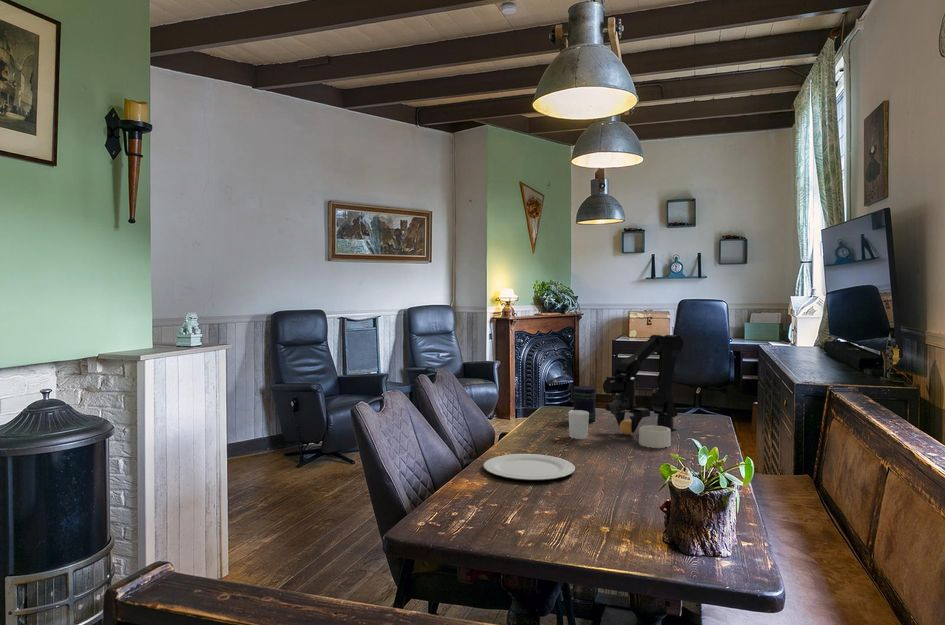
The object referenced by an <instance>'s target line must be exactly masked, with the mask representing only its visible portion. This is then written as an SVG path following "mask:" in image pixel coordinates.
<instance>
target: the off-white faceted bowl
mask: <svg viewBox="0 0 945 625" xmlns="http://www.w3.org/2000/svg"><path fill="white" fill-rule="evenodd" d="M638 431H639V432H638V444H639V446H641V447H645V446H646V448H650V447H651V448H653V449H666V448H665V447H667V448H670V447H671V438H672V437H671V434H672V431H671V429H669V428H667V427H663V426H657V425H654V424H653V425H652V424H651V425H650V424H649V425H641V426H639V428H638ZM669 446H670V447H669Z"/></svg>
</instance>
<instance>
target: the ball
mask: <svg viewBox="0 0 945 625" xmlns="http://www.w3.org/2000/svg"><path fill="white" fill-rule="evenodd" d="M619 428H620V429H619ZM618 429H619V431H620V432H621V433H622V434H624V435H627V436H628V435H632V434H633V433H632V423H631V419H624V420H623V421H622V422H621V423H620V426H618Z"/></svg>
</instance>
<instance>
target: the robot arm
mask: <svg viewBox="0 0 945 625" xmlns="http://www.w3.org/2000/svg"><path fill="white" fill-rule="evenodd" d="M683 346H684V339H683V338H682V337H681V336H680V335H677V334H676V335H674V334H672V335H671V334H666V335H664V336H663V335H661V334H652V335H650V337H649V339H647V340H646V341H645V342H644V343H643V344H642V345H641V346H640V347H639V348H638V349H637V350H636V351H635V352H634V353H633V354H631V355H630V356H628V357H625V358H624V359H622V360H621V361H620V362H619V363H618V365H617V368H616V369H615V371H614V373H613V374H612V376H606V379H605V380H604V382H603V384H602V389H603V392H604V394H606V395H614V394H617V399H614V400H612V401H611V402H607V403H606V405H605V411H607V412H610V414H612V415H613V416H614V417H615V421H616V423H617V425H618V429H619V430H620V428H619V426H620V423H621V422H622V421H623V420H625V417H626V413H629V414H632V415H629V419H630V420H631V423H632V433H631V434H635V432H636V430H637V429H638V426H639V424H640V422H641V421H642V419H644V418H647V417H650V416H651V410H650V409H649V408H645V407H638V406H637V405H636V398H638V395H637V394H636V382H639V381H640V380H641V379H640V378H639V377H638V376H637V374H638V373H639V372H640V370H641V368H642V364H643V363H644V362H645V361H646V360H647V359H648V358H649V357H650V356H651V355H652V354H654V352H655V351H656V350H657V349H658V348H659V347H661V351H662V354H663V359H662V365H661V370H660V371H661V372H660V376H659V383H658V388H657V391H656V392H652V394H651V400H650V403H651V407H652V409H653V414H654V415H657V421H656V423H657V424H656V426H663V427H667V428H669V429H671V432H673V431H677V428H675V427H674V418H676V417H678V414H679V410H678V409H677V408H676V406H674V398H673V395H672V386H673V380H674V374H675V366H676V361H677V357H678V356H679V354H680V353H681V351H682V350H683Z"/></svg>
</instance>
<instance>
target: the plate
mask: <svg viewBox="0 0 945 625" xmlns="http://www.w3.org/2000/svg"><path fill="white" fill-rule="evenodd" d="M483 469H484V470H485V471H487V472H488V473H490V474H492V475H493V476H494V475H495V476H497V477H501V478H506V479H510V480H518V481H527V482H528V481H529V482H531V481H532V482H533V481H537V482H538V481H539V482H540V481H548V480H549V481H550V480H557V479H562V478H564V477H567V476H571V475H572V474H573V473H574V472H575V470H576V467H575V465H574V464H573V463H572V462H570V461H568V460H567V459H563V458H560V457H557V456H552V455H546V454H540V453H539V454H535V453H512V454H504V455H499V456H495V457H491V458H489V459H488V460H485V461H484V463H483Z"/></svg>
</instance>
